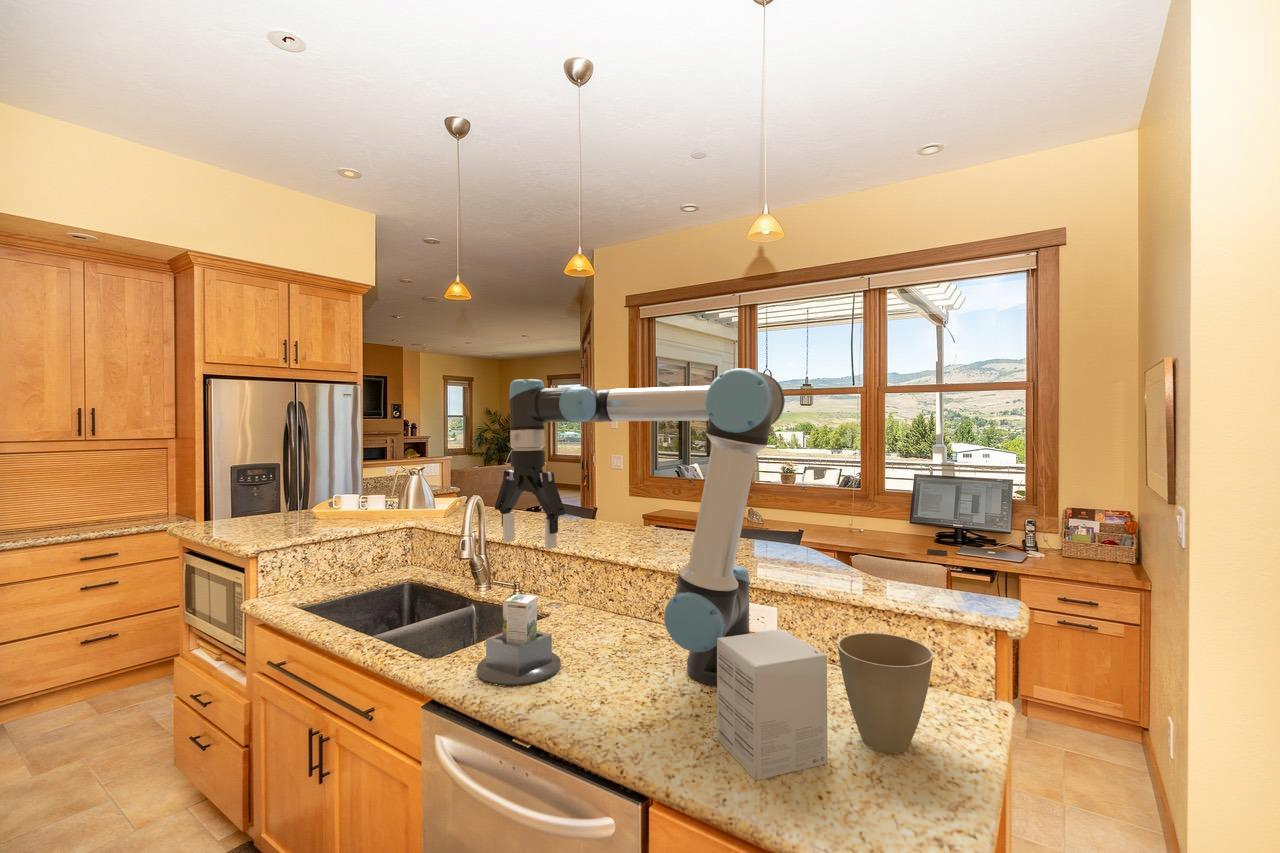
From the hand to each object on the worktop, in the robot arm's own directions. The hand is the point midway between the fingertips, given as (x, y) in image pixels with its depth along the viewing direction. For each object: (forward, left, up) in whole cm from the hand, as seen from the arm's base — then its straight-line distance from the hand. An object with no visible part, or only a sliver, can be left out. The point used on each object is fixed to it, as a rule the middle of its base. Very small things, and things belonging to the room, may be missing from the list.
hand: (529, 545), depth 135 cm
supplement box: (-52, -26, -27) cm, 64 cm away
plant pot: (-58, -45, -27) cm, 78 cm away
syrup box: (-1, +2, -26) cm, 26 cm away
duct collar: (-1, +3, -27) cm, 27 cm away
